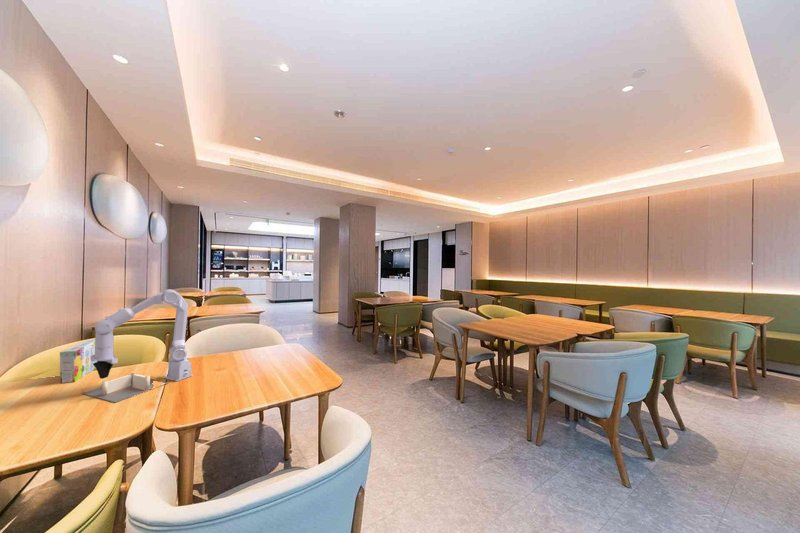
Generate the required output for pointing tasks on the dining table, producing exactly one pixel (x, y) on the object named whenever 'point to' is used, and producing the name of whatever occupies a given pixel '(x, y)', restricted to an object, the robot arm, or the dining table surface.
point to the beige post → (117, 384)
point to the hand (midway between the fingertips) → (103, 377)
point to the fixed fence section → (141, 381)
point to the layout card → (117, 393)
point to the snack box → (77, 361)
